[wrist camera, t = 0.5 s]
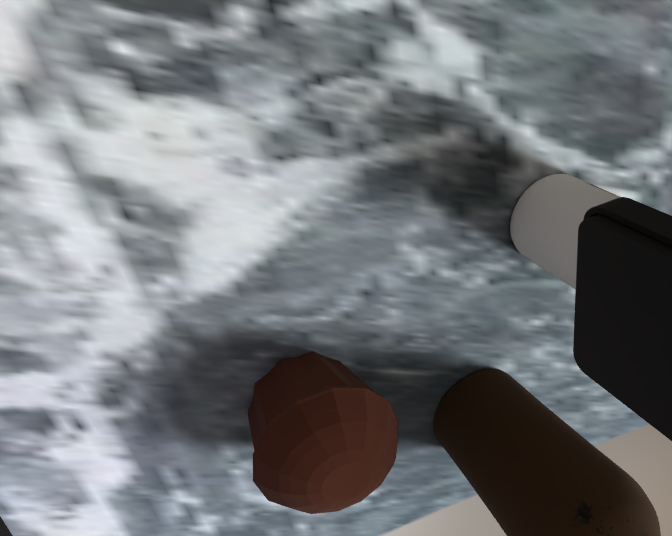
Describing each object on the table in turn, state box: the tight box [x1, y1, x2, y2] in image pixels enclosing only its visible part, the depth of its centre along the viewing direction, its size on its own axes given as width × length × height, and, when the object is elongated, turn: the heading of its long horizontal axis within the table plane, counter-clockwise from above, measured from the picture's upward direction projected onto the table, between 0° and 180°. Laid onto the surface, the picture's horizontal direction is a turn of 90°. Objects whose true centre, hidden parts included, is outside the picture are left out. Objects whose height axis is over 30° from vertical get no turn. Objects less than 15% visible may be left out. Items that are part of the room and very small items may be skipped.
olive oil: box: [434, 369, 661, 536], centre depth 51 cm, size 11×11×25 cm
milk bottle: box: [510, 174, 620, 289], centre depth 46 cm, size 8×8×20 cm
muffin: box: [248, 352, 399, 514], centre depth 48 cm, size 12×11×10 cm
